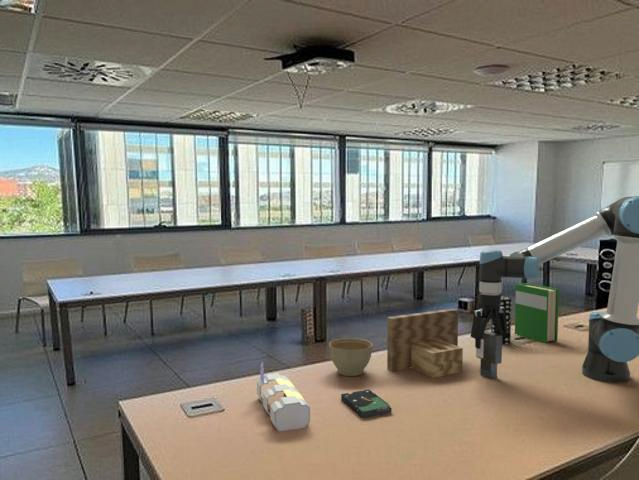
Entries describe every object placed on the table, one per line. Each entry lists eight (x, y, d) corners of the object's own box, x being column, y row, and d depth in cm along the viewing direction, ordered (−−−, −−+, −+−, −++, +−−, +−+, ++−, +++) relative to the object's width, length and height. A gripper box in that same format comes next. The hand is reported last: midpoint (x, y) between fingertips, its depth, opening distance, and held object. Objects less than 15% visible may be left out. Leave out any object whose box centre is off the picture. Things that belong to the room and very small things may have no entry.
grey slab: (482, 371, 183) (483, 329, 182) (501, 379, 175) (502, 335, 174) (476, 373, 182) (477, 330, 180) (495, 380, 174) (495, 336, 172)
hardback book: (557, 341, 221) (559, 289, 220) (545, 343, 218) (547, 290, 217) (526, 332, 237) (527, 283, 236) (514, 334, 234) (515, 284, 233)
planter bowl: (380, 376, 179) (380, 347, 178) (339, 382, 173) (339, 352, 172) (360, 363, 194) (360, 335, 193) (322, 368, 188) (322, 340, 187)
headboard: (452, 356, 201) (453, 308, 200) (480, 367, 187) (481, 316, 186) (387, 369, 187) (387, 317, 185) (412, 382, 173) (412, 326, 171)
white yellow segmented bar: (256, 399, 160) (256, 359, 159) (287, 395, 163) (287, 356, 162) (274, 433, 136) (274, 387, 135) (310, 427, 139) (309, 382, 138)
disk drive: (340, 402, 158) (362, 420, 144) (340, 393, 157) (361, 411, 144) (369, 397, 162) (392, 414, 148) (368, 388, 161) (392, 405, 148)
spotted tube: (486, 340, 225) (487, 296, 223) (502, 338, 227) (503, 295, 226) (498, 345, 217) (499, 300, 215) (514, 343, 219) (515, 299, 218)
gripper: (503, 289, 184) (502, 348, 186) (460, 294, 175) (459, 356, 176) (519, 292, 177) (518, 353, 179) (475, 297, 168) (474, 362, 170)
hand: (488, 355), depth 178 cm, fingers open, 8 cm apart
